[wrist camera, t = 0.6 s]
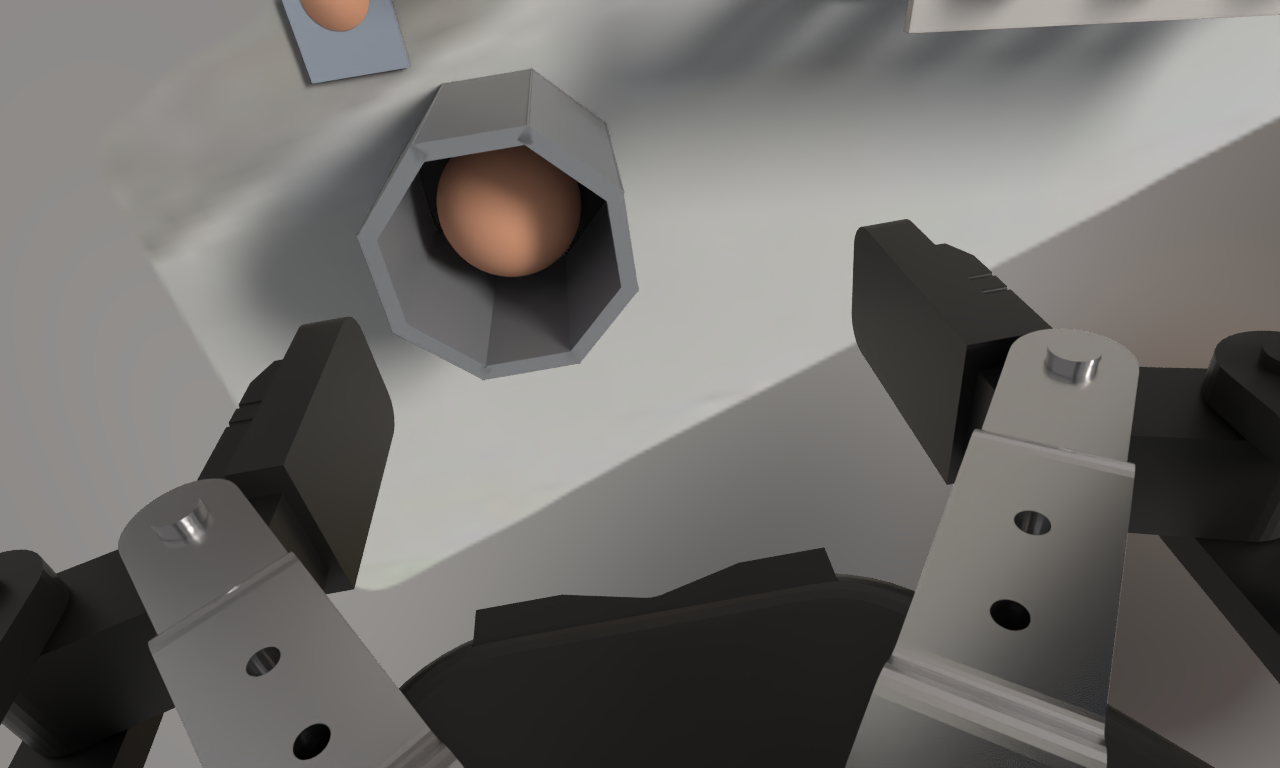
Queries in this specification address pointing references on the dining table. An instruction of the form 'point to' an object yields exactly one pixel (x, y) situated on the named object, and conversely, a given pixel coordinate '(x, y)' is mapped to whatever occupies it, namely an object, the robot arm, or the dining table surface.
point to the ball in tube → (508, 210)
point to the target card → (347, 37)
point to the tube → (486, 303)
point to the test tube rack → (1068, 12)
